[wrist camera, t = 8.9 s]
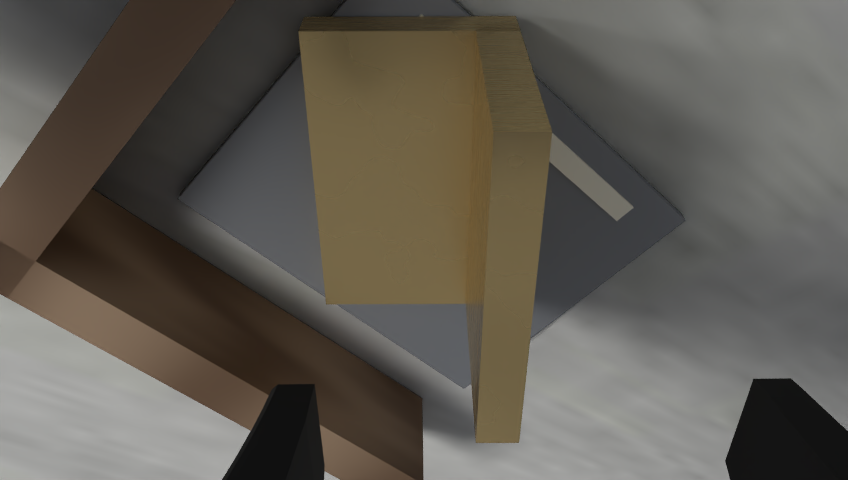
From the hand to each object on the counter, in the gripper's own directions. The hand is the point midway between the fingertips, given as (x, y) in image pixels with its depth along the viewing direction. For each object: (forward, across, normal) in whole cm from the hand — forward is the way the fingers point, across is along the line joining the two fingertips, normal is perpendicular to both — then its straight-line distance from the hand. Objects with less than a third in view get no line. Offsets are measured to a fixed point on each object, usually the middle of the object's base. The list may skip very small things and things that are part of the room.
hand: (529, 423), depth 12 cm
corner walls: (+9, +3, 0) cm, 10 cm away
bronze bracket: (+9, +2, 0) cm, 9 cm away
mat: (+9, +1, +2) cm, 10 cm away
